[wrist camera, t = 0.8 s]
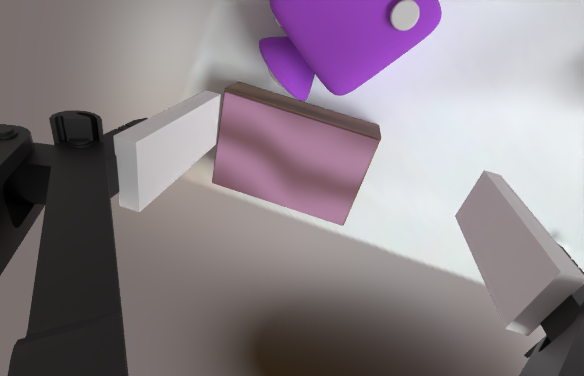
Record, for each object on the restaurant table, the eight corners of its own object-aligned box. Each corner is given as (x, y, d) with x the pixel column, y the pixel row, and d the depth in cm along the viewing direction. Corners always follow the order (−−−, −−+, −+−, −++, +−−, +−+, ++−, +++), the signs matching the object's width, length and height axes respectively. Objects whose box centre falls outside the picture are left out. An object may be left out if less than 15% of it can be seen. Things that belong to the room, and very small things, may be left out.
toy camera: (256, 44, 32) (217, 54, 23) (352, -95, 25) (347, -155, 17) (332, 115, 34) (323, 148, 25) (440, 2, 27) (477, -6, 18)
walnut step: (238, 81, 34) (223, 89, 30) (379, 125, 33) (381, 139, 29) (225, 168, 39) (210, 183, 36) (345, 207, 39) (343, 227, 35)
